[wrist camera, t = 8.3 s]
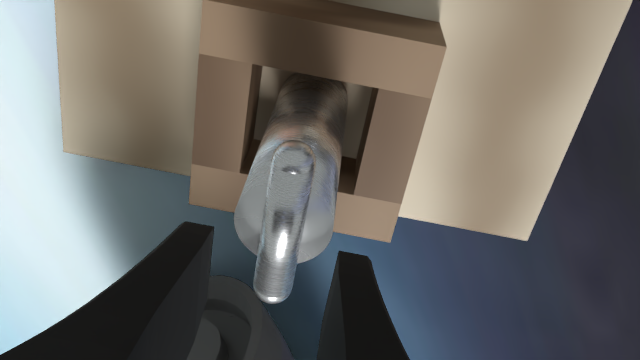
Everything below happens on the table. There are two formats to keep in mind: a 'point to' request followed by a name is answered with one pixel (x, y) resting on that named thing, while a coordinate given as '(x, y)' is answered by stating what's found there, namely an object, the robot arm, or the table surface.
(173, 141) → the board
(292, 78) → the key peg
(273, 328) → the bluetooth speaker
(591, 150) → the table surface
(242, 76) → the socket block
